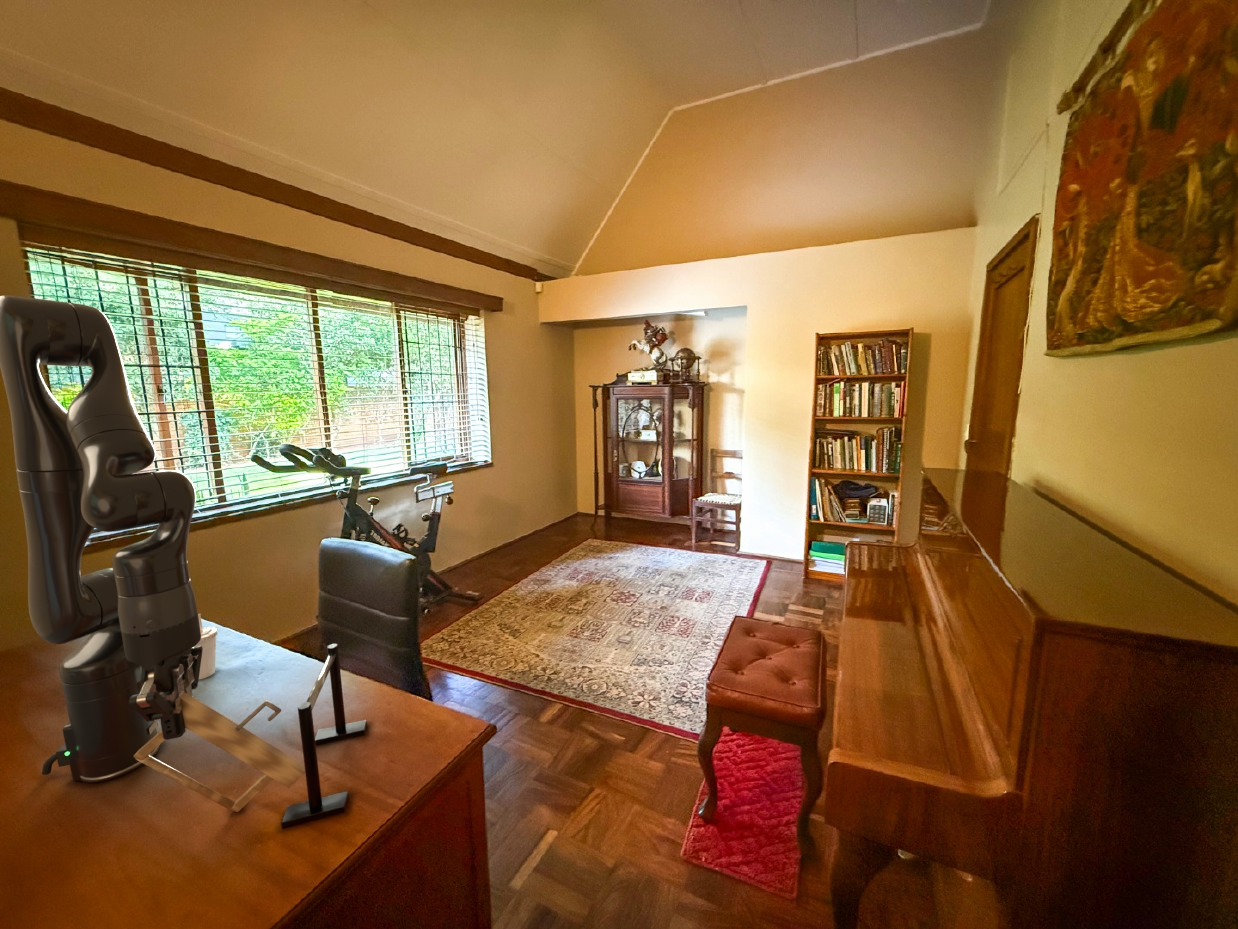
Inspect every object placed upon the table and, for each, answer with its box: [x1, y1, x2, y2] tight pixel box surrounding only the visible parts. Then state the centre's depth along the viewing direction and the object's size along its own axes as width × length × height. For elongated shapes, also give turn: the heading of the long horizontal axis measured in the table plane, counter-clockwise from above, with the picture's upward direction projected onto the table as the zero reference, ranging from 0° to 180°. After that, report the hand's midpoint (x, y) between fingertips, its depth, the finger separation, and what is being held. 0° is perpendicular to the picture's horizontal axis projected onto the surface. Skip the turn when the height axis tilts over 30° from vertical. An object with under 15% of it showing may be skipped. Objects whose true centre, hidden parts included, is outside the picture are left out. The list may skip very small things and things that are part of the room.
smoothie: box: [194, 613, 219, 680], centre depth 103 cm, size 6×6×14 cm
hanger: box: [133, 692, 305, 813], centre depth 69 cm, size 22×1×15 cm
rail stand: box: [280, 643, 368, 830], centre depth 76 cm, size 8×20×18 cm, turn 20°
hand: (178, 731), depth 66 cm, fingers closed
